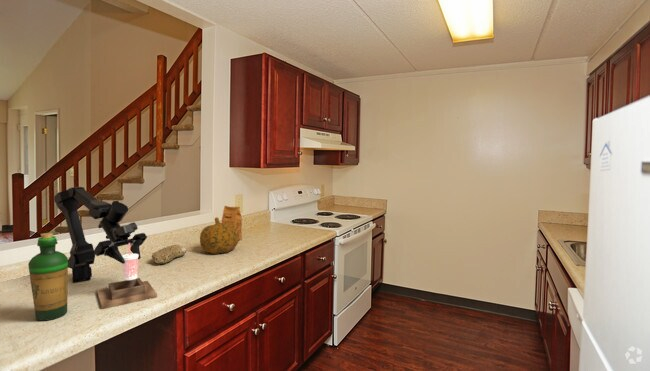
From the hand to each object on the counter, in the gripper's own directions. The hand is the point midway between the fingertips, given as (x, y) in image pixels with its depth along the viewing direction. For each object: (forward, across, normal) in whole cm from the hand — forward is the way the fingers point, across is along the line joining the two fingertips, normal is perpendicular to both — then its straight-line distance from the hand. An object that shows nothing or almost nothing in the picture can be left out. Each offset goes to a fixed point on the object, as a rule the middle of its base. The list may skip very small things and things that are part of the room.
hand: (132, 260), depth 138 cm
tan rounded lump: (-8, +37, +28) cm, 47 cm away
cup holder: (+9, -2, +10) cm, 13 cm away
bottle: (+5, -25, +14) cm, 29 cm away
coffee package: (-9, +86, +29) cm, 92 cm away
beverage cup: (+4, 0, +6) cm, 7 cm away
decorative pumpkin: (0, +62, +20) cm, 65 cm away
